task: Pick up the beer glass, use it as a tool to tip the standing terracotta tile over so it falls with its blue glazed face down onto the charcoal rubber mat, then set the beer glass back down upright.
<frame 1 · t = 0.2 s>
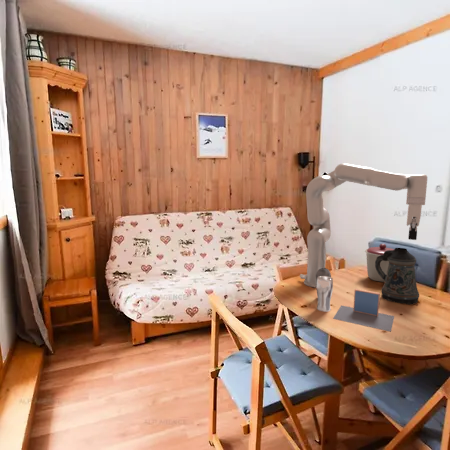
hand: (412, 237, 151), 31 cm above the table, fingers open, 9 cm apart
mat: (363, 318, 137), on the table
beer glass: (323, 310, 146), on the table
tile: (365, 312, 141), resting on mat
beverage cup: (322, 298, 159), on the table
canister: (380, 279, 187), on the table
beer stein: (396, 298, 159), on the table
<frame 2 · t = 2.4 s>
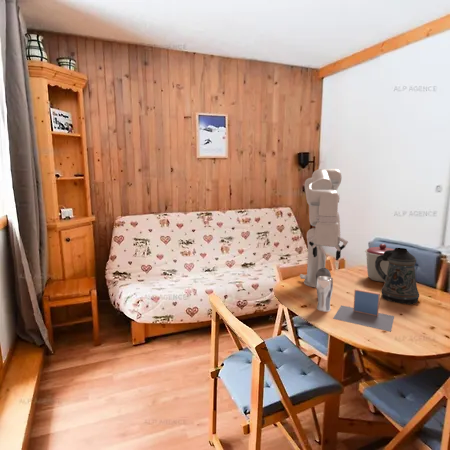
hand: (326, 258, 142), 24 cm above the table, fingers open, 9 cm apart
nothing on the table moved.
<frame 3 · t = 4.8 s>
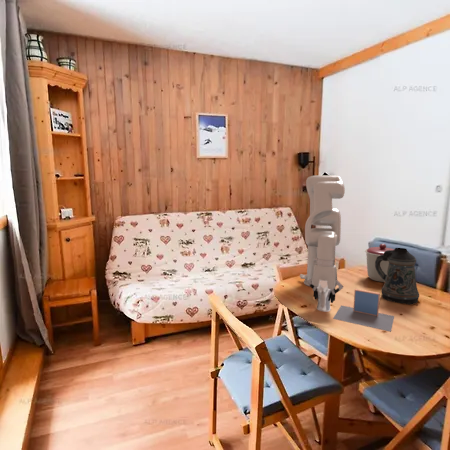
hand: (324, 299, 145), 5 cm above the table, fingers closed on beer glass, 6 cm apart
beer glass: (323, 310, 146), on the table, touching gripper
everything else where it was.
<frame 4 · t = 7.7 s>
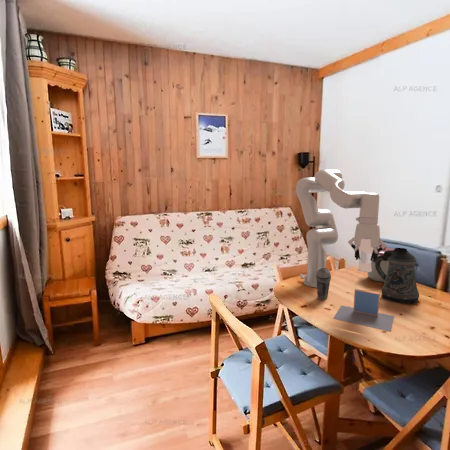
hand: (365, 260, 144), 23 cm above the table, fingers closed on beer glass, 6 cm apart
beer glass: (364, 270, 145), point 18 cm above the table, touching gripper
everything else where it was.
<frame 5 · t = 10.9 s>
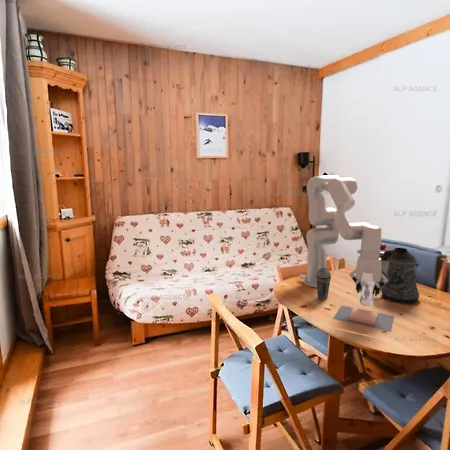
hand: (367, 293, 141), 9 cm above the table, fingers closed on beer glass, 6 cm apart
beer glass: (366, 303, 142), point 4 cm above the table, touching gripper
tile: (365, 311, 140), point 1 cm above the table, tilted 90°, touching mat
everything else where it was.
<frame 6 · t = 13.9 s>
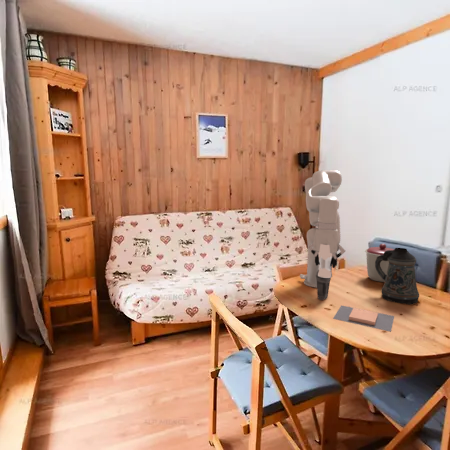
hand: (325, 265, 143), 21 cm above the table, fingers closed on beer glass, 6 cm apart
beer glass: (325, 276, 143), point 16 cm above the table, touching gripper
everything else where it was.
when the fingers open (6 cm above the table, at t = 16.9 s): beer glass drops 1 cm, on the table.
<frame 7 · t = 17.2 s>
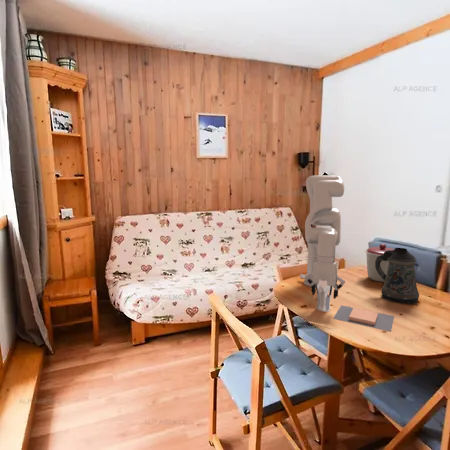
hand: (324, 295, 145), 7 cm above the table, fingers open, 9 cm apart
beer glass: (323, 310, 146), on the table
everything else where it was.
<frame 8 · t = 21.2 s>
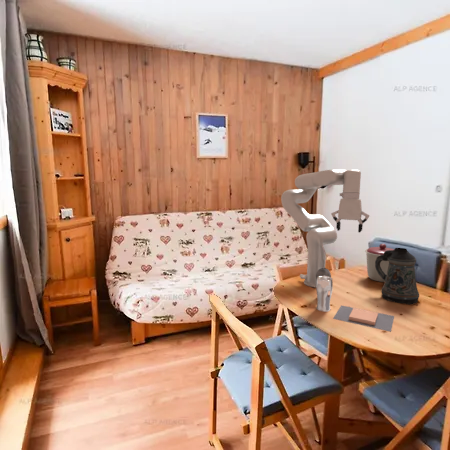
hand: (348, 231, 156), 33 cm above the table, fingers open, 9 cm apart
nothing on the table moved.
at the end: tile tilted 90°; tile inside the target area on the mat (4.1 cm from its centre), point 1.3 cm above the mat's base; beer glass tilted 0° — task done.
